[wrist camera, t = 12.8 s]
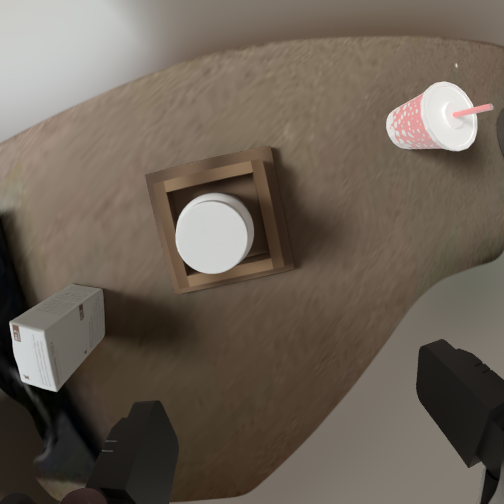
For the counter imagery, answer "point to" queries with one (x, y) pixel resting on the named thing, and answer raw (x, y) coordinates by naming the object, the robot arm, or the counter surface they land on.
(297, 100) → the counter surface
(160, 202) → the wooden tray
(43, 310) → the skincare box
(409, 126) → the beverage cup
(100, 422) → the counter surface
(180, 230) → the pill bottle
